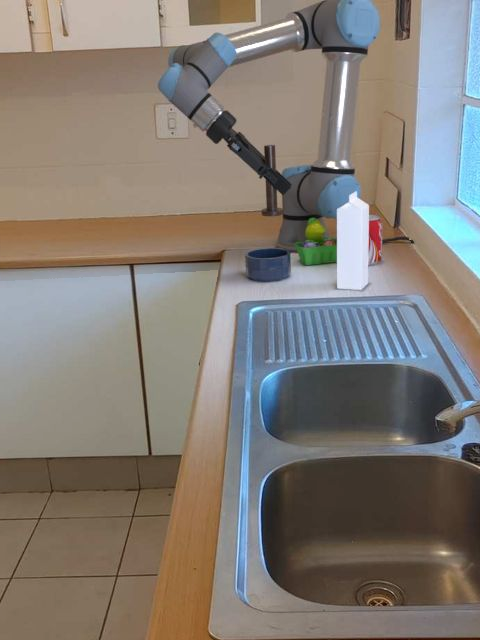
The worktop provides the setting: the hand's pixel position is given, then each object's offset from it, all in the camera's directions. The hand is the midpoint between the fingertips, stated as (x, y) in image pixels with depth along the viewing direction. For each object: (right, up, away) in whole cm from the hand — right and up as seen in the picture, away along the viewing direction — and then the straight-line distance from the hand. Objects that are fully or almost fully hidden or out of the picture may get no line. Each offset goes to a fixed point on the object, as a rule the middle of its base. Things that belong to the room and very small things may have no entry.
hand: (287, 189), depth 181 cm
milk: (+16, -23, -1) cm, 28 cm away
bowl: (-4, -19, +12) cm, 23 cm away
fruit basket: (+10, -14, +23) cm, 29 cm away
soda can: (+23, -15, +19) cm, 33 cm away
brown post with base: (-3, -5, +3) cm, 7 cm away
